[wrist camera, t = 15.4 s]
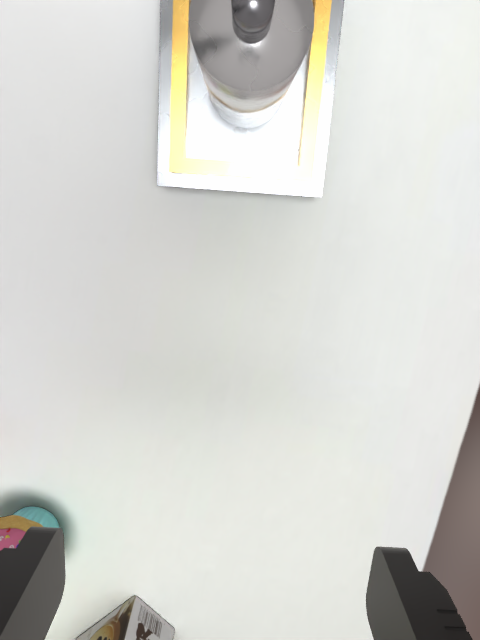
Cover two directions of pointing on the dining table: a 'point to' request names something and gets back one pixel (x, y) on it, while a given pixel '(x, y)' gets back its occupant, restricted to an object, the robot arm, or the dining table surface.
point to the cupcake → (23, 525)
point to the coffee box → (130, 624)
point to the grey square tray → (245, 143)
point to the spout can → (250, 53)
